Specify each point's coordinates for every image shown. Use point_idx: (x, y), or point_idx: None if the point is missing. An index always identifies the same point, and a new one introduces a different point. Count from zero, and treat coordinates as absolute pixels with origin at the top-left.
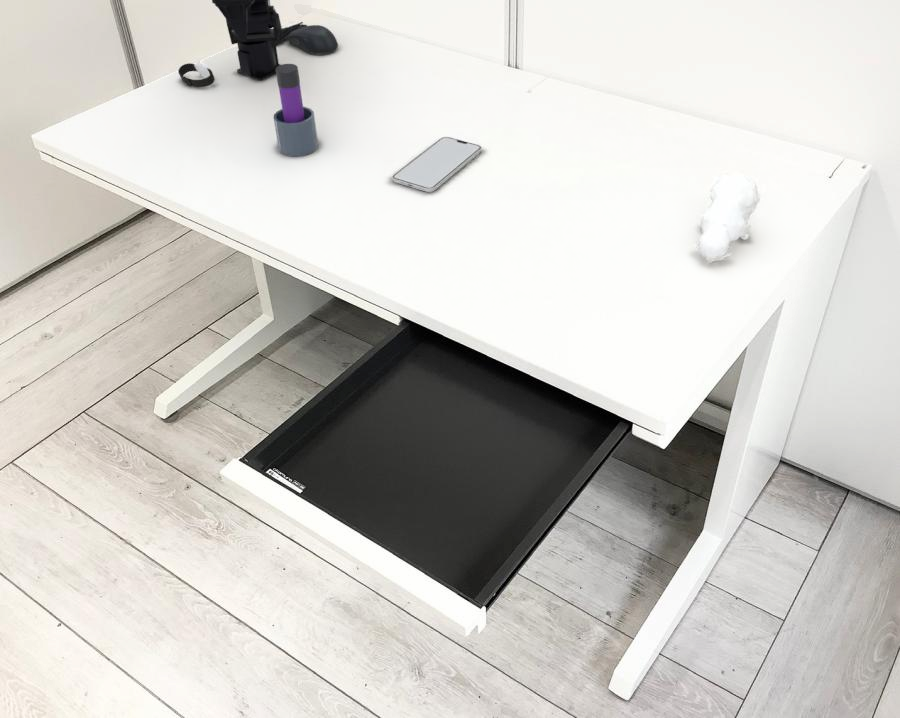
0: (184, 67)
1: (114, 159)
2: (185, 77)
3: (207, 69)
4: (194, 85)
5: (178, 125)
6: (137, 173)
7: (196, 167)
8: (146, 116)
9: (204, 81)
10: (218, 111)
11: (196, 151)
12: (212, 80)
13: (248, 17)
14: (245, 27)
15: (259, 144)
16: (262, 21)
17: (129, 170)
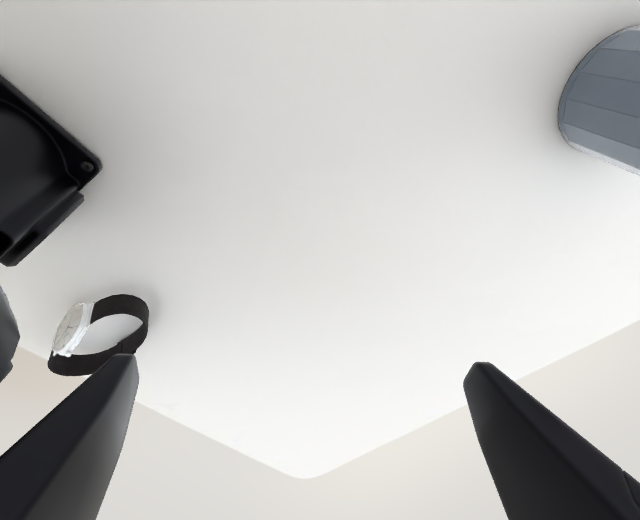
0: (58, 365)
1: (427, 408)
2: None
3: (90, 323)
4: (140, 330)
5: (343, 343)
6: None
7: (535, 310)
8: (280, 389)
9: (147, 319)
10: (300, 278)
11: (473, 312)
12: (133, 301)
13: (132, 369)
14: (566, 430)
15: (525, 195)
16: None
17: None
